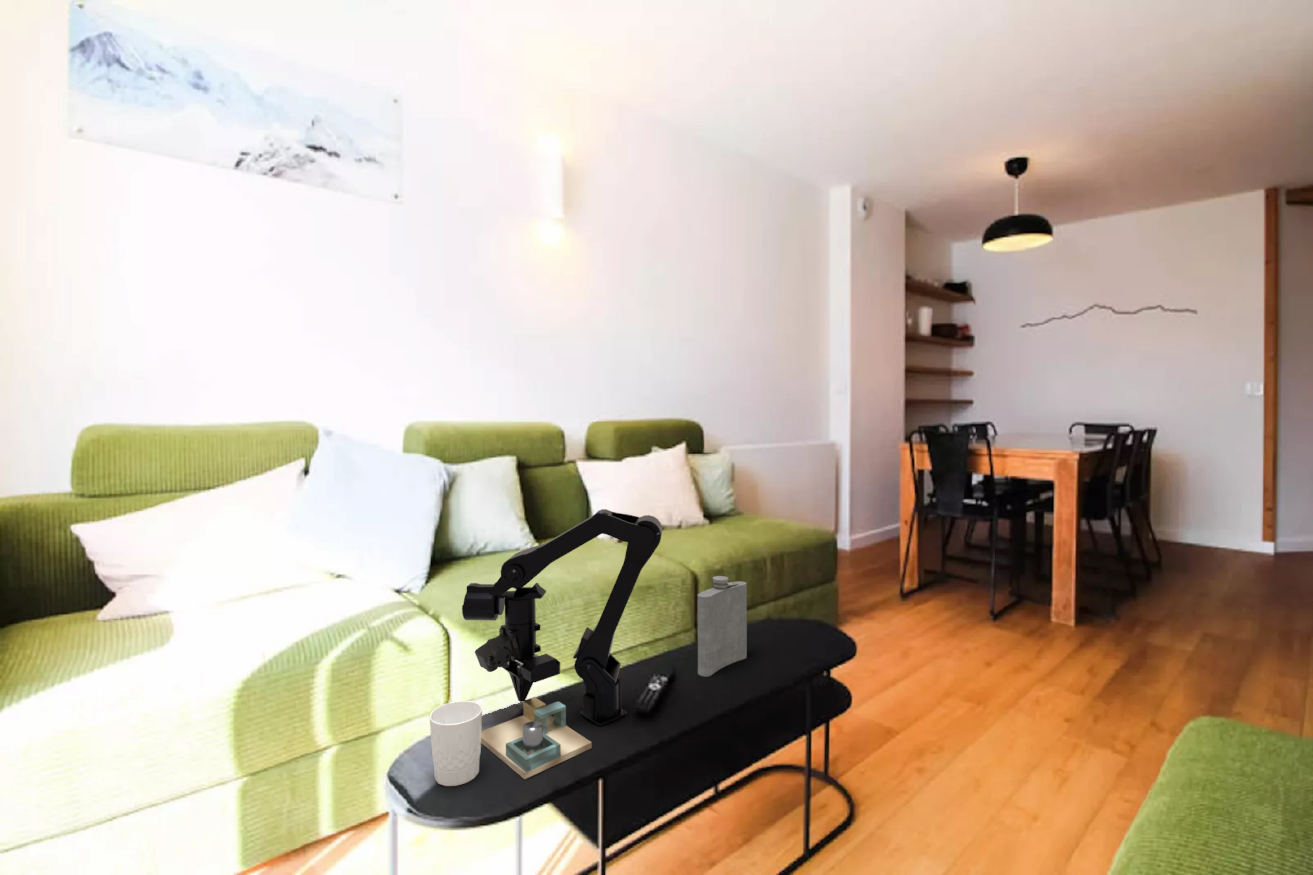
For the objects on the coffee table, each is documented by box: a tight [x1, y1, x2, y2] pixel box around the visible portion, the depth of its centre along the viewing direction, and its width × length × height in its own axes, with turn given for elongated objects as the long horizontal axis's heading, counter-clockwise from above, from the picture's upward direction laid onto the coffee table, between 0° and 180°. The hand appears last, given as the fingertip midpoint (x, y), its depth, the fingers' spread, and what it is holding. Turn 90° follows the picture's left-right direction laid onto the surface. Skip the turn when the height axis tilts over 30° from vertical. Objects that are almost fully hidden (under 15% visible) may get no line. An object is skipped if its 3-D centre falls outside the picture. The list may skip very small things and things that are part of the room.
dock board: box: [481, 700, 593, 780], centre depth 104 cm, size 13×16×5 cm
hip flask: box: [697, 575, 748, 677], centre depth 137 cm, size 16×4×20 cm, turn 136°
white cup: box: [429, 700, 483, 787], centre depth 95 cm, size 8×8×10 cm
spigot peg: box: [523, 721, 543, 755], centre depth 98 cm, size 3×3×5 cm
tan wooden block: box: [522, 696, 547, 721], centre depth 111 cm, size 2×4×3 cm, turn 43°
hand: (521, 700), depth 115 cm, fingers closed
